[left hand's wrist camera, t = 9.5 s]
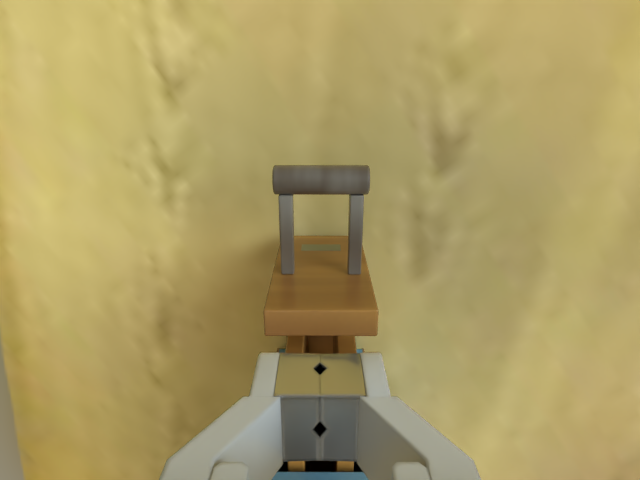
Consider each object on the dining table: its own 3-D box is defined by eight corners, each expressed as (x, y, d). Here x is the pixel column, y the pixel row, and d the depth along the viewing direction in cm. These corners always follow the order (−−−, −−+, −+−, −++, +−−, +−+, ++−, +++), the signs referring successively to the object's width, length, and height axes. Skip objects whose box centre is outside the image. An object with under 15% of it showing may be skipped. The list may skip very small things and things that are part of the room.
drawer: (278, 147, 23) (256, 185, 15) (363, 147, 23) (386, 185, 15) (289, 465, 31) (278, 599, 23) (351, 465, 31) (362, 599, 23)
